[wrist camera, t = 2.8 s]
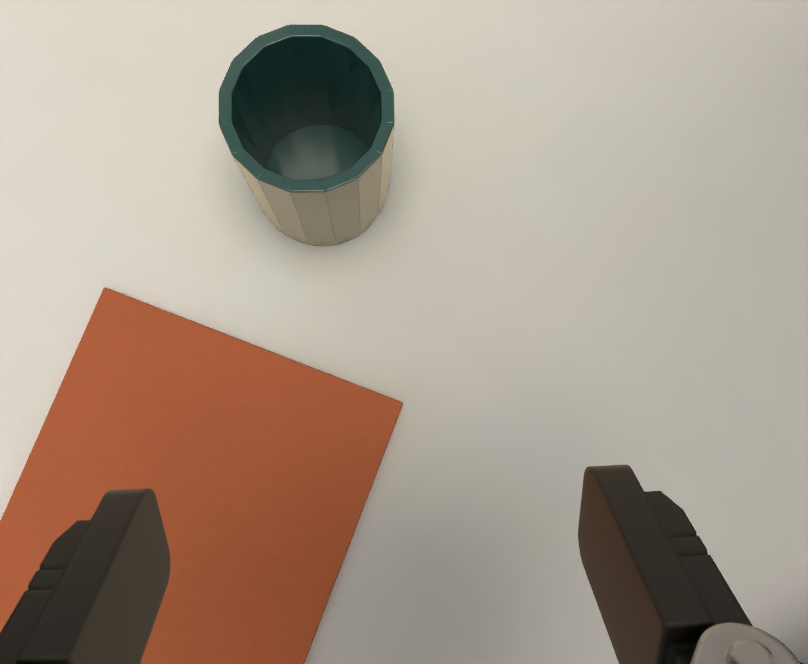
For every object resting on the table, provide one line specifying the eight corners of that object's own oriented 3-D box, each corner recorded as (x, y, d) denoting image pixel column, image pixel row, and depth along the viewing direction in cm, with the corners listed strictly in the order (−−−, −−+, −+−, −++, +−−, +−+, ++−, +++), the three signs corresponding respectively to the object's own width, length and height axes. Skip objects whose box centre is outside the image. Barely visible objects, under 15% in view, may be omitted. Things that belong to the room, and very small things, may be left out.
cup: (286, 101, 31) (258, -2, 23) (406, 148, 31) (419, 62, 23) (236, 217, 31) (190, 153, 23) (359, 265, 31) (356, 218, 23)
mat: (106, 288, 30) (103, 287, 30) (402, 403, 30) (403, 403, 30) (-94, 739, 28) (-99, 743, 27) (228, 860, 28) (226, 865, 28)
